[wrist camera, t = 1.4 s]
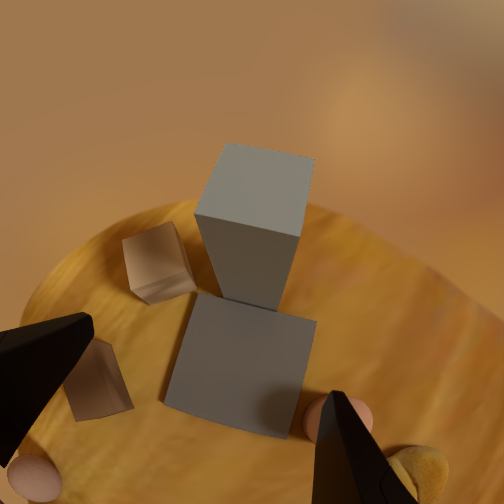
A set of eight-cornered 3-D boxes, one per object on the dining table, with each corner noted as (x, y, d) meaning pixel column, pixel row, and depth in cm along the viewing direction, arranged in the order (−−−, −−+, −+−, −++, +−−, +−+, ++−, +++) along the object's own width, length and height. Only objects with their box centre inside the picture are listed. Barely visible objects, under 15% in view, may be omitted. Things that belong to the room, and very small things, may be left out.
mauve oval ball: (31, 452, 15) (-12, 457, 9) (59, 449, 16) (14, 457, 10) (50, 493, 13) (11, 506, 7) (81, 494, 14) (41, 511, 8)
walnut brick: (135, 408, 19) (113, 411, 16) (100, 418, 18) (75, 421, 15) (112, 345, 22) (89, 337, 18) (79, 357, 21) (54, 351, 17)
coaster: (285, 437, 18) (286, 439, 18) (165, 403, 19) (163, 404, 19) (315, 322, 22) (316, 321, 22) (200, 293, 23) (198, 291, 23)
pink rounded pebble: (321, 453, 17) (334, 466, 14) (291, 416, 19) (299, 424, 15) (363, 420, 18) (383, 426, 15) (334, 383, 20) (350, 384, 16)
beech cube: (150, 305, 23) (130, 290, 19) (140, 262, 25) (121, 240, 21) (197, 289, 24) (186, 270, 20) (184, 246, 26) (171, 221, 22)
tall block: (276, 312, 23) (299, 236, 11) (224, 299, 23) (193, 213, 12) (288, 264, 25) (314, 159, 13) (238, 252, 25) (226, 142, 13)
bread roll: (439, 488, 14) (461, 497, 10) (361, 529, 13) (375, 547, 10) (432, 427, 17) (457, 430, 14) (348, 469, 17) (365, 483, 13)
